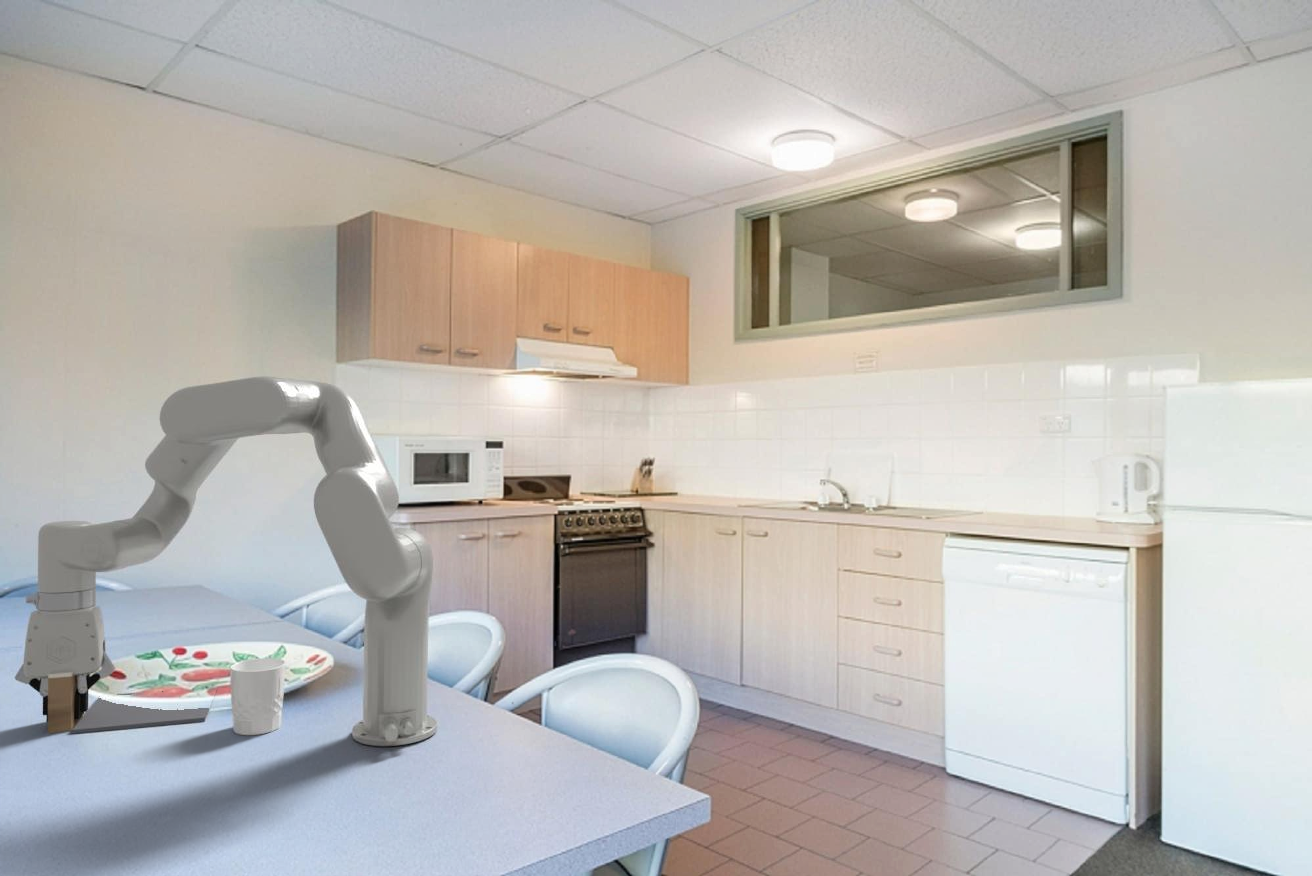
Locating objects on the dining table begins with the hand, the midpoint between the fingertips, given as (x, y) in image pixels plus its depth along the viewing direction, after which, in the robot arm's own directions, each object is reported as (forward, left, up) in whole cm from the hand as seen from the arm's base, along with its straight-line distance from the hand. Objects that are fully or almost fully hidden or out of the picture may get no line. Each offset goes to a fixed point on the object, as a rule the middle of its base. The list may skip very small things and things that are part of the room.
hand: (65, 716), depth 135 cm
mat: (+4, -11, -1) cm, 12 cm away
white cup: (-11, -28, -2) cm, 30 cm away
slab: (0, 0, -1) cm, 1 cm away
